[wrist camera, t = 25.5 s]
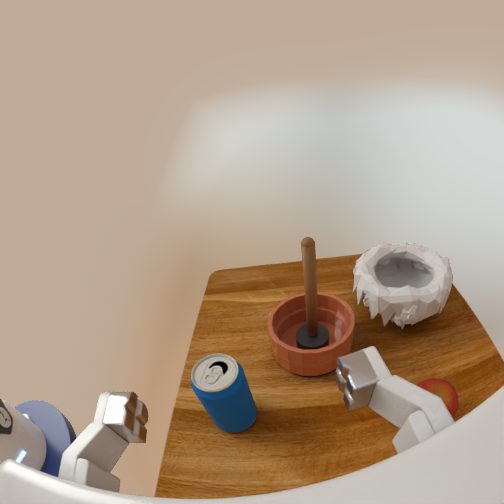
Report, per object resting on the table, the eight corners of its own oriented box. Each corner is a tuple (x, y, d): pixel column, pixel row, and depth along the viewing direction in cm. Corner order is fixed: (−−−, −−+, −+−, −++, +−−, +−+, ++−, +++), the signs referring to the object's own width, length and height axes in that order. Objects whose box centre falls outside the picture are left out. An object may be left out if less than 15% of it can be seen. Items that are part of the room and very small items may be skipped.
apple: (442, 443, 22) (466, 419, 18) (391, 442, 25) (408, 419, 22) (445, 398, 28) (464, 368, 24) (399, 396, 31) (413, 367, 28)
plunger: (308, 361, 41) (301, 253, 31) (290, 341, 46) (277, 237, 36) (335, 345, 43) (338, 238, 33) (316, 327, 47) (312, 224, 38)
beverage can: (265, 407, 35) (252, 360, 30) (243, 441, 31) (222, 403, 25) (229, 392, 39) (208, 344, 33) (206, 423, 34) (177, 380, 28)
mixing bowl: (299, 392, 37) (297, 368, 34) (259, 339, 48) (253, 313, 45) (367, 349, 41) (372, 323, 38) (320, 308, 52) (320, 282, 49)
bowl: (456, 339, 36) (473, 295, 32) (352, 345, 42) (357, 301, 38) (430, 273, 53) (437, 235, 49) (349, 275, 60) (350, 236, 55)
